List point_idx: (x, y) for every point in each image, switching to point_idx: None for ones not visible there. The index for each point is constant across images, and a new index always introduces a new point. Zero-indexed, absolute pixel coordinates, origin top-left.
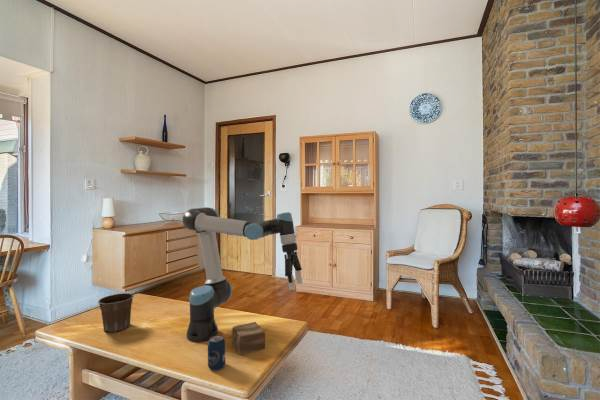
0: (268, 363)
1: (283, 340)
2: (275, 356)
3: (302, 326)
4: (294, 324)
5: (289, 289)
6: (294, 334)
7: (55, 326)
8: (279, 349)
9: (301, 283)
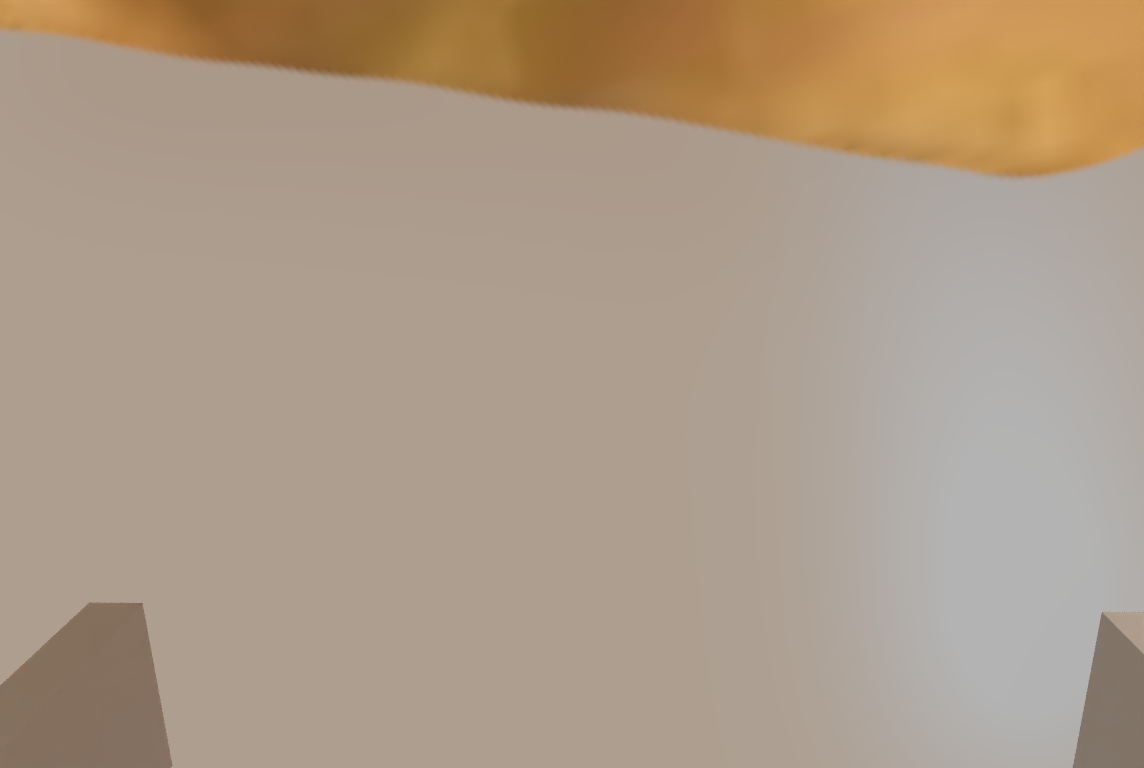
0: (90, 28)
1: (589, 27)
2: (231, 56)
3: (1037, 173)
4: (1110, 35)
5: (78, 615)
6: (778, 125)
7: None
8: (375, 51)
9: (1078, 760)
